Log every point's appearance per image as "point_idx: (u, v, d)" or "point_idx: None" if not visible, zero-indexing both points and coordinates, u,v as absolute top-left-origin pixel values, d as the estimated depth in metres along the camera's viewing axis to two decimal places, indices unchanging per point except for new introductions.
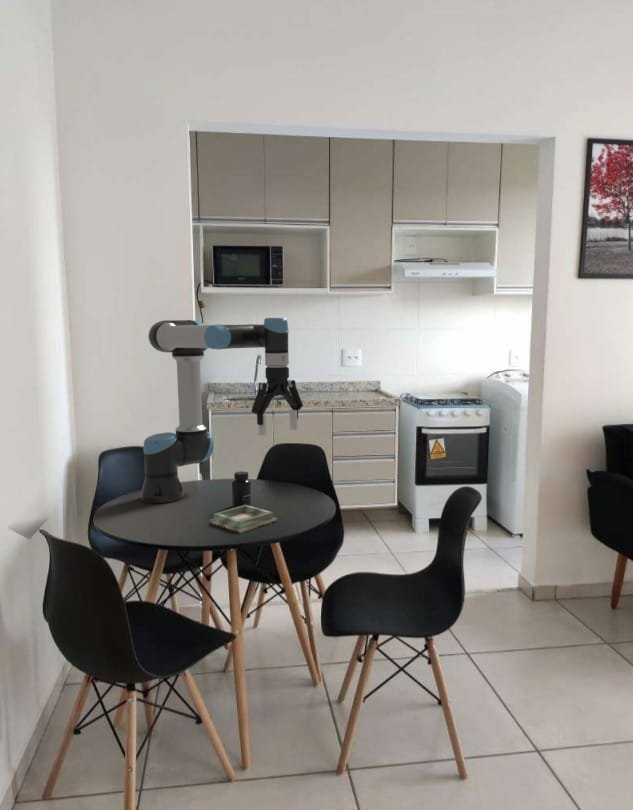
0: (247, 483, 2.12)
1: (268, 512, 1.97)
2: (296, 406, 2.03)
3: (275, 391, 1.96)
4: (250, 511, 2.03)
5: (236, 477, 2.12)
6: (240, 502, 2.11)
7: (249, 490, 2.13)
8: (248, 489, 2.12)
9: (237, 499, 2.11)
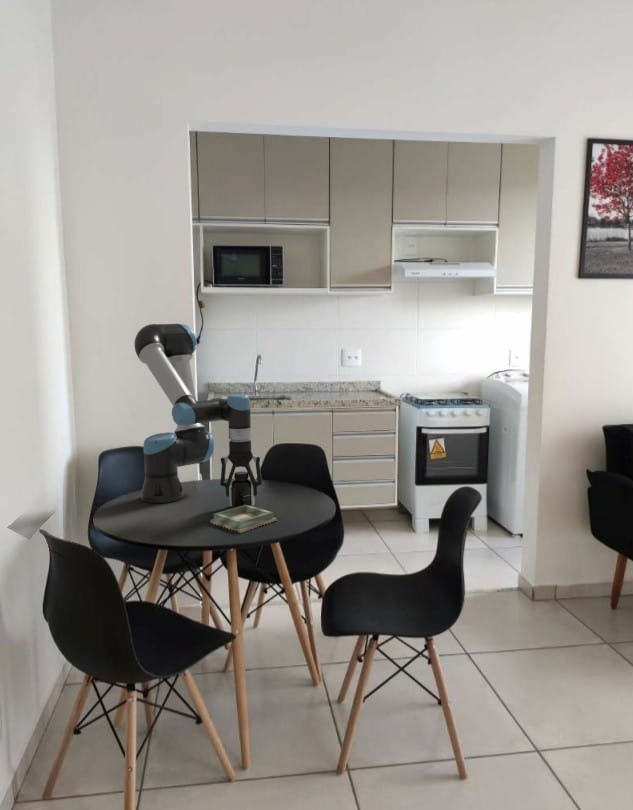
0: (247, 483, 2.12)
1: (268, 512, 1.97)
2: (253, 483, 2.13)
3: (234, 464, 2.11)
4: (250, 511, 2.03)
5: (236, 477, 2.12)
6: (241, 502, 2.11)
7: (249, 490, 2.13)
8: (248, 489, 2.12)
9: (237, 499, 2.11)
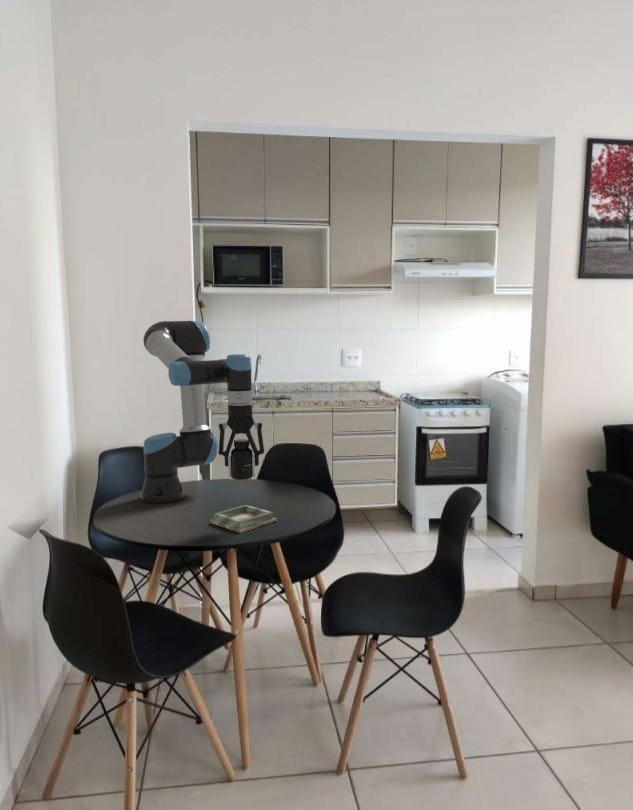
0: (248, 452, 1.93)
1: (268, 512, 1.97)
2: (254, 452, 1.94)
3: (234, 430, 1.92)
4: (250, 511, 2.03)
5: (236, 445, 1.93)
6: (241, 472, 1.92)
7: (250, 459, 1.93)
8: (249, 458, 1.93)
9: (237, 469, 1.92)
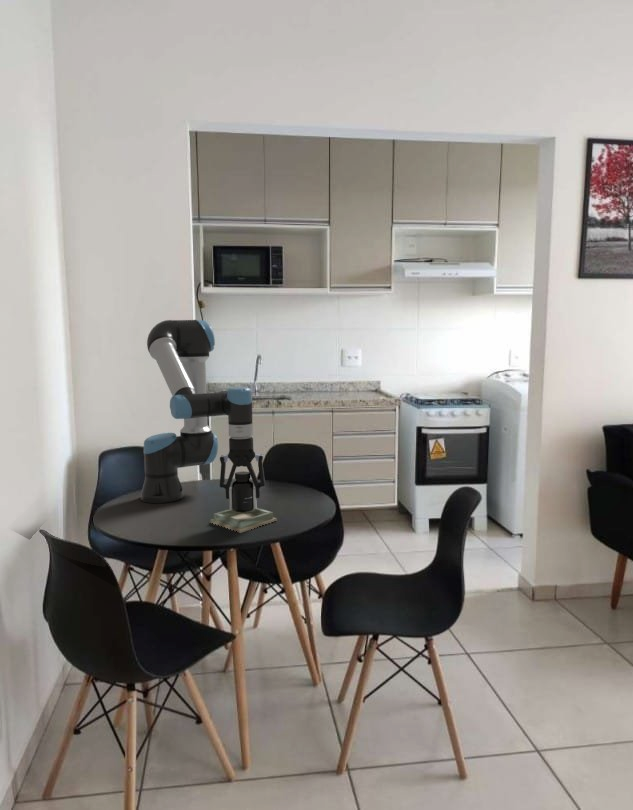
0: (249, 484, 1.94)
1: (268, 512, 1.97)
2: (255, 484, 1.95)
3: (235, 463, 1.93)
4: (250, 511, 2.03)
5: (237, 478, 1.94)
6: (242, 505, 1.93)
7: (251, 492, 1.94)
8: (250, 491, 1.94)
9: (238, 501, 1.93)
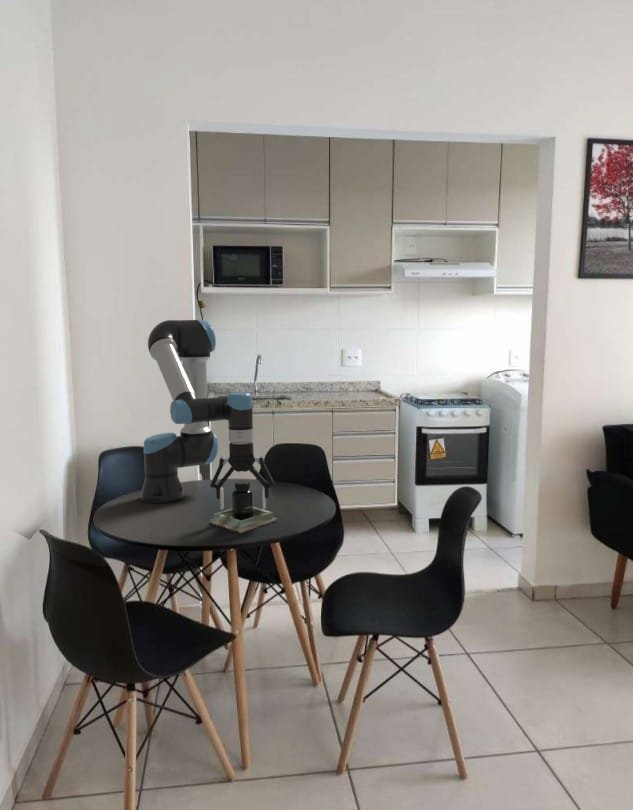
0: (249, 494, 1.94)
1: (268, 512, 1.97)
2: (264, 484, 1.95)
3: (233, 467, 1.93)
4: None
5: (237, 487, 1.94)
6: (242, 514, 1.94)
7: (251, 501, 1.95)
8: (250, 500, 1.95)
9: (238, 511, 1.94)
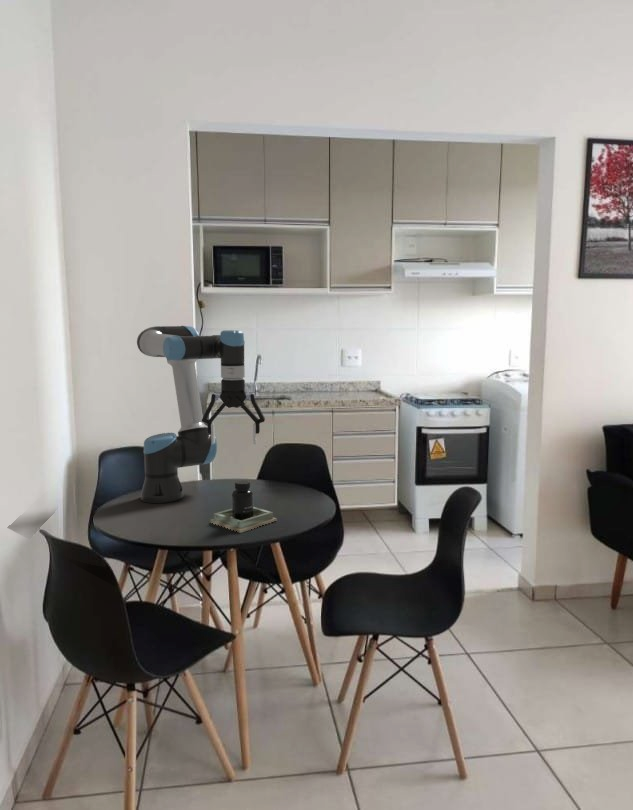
0: (249, 494, 1.94)
1: (268, 512, 1.97)
2: (255, 420, 2.00)
3: (225, 403, 1.98)
4: None
5: (237, 487, 1.94)
6: (242, 514, 1.94)
7: (251, 501, 1.95)
8: (250, 500, 1.94)
9: (238, 511, 1.94)
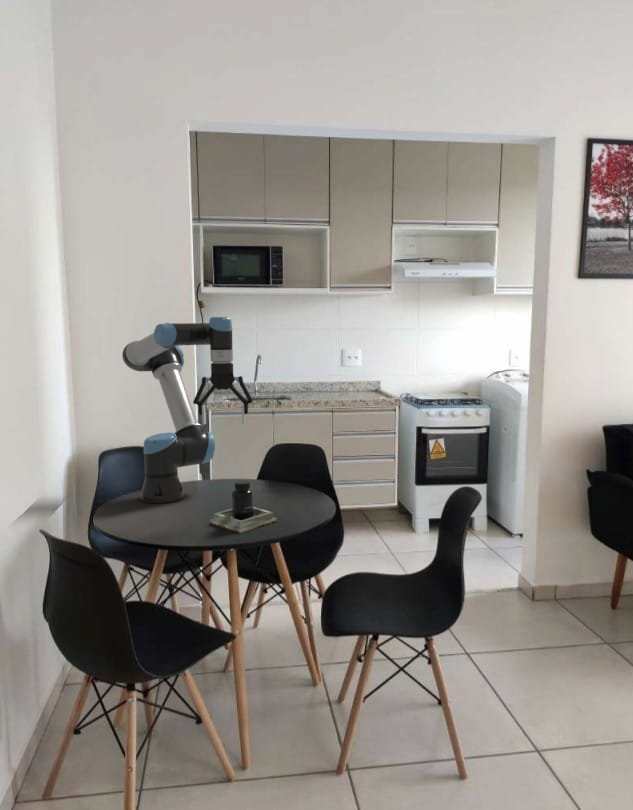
0: (249, 494, 1.94)
1: (268, 512, 1.97)
2: (243, 401, 2.12)
3: (214, 385, 2.11)
4: None
5: (237, 487, 1.94)
6: (242, 514, 1.94)
7: (251, 501, 1.95)
8: (250, 500, 1.95)
9: (238, 511, 1.94)
